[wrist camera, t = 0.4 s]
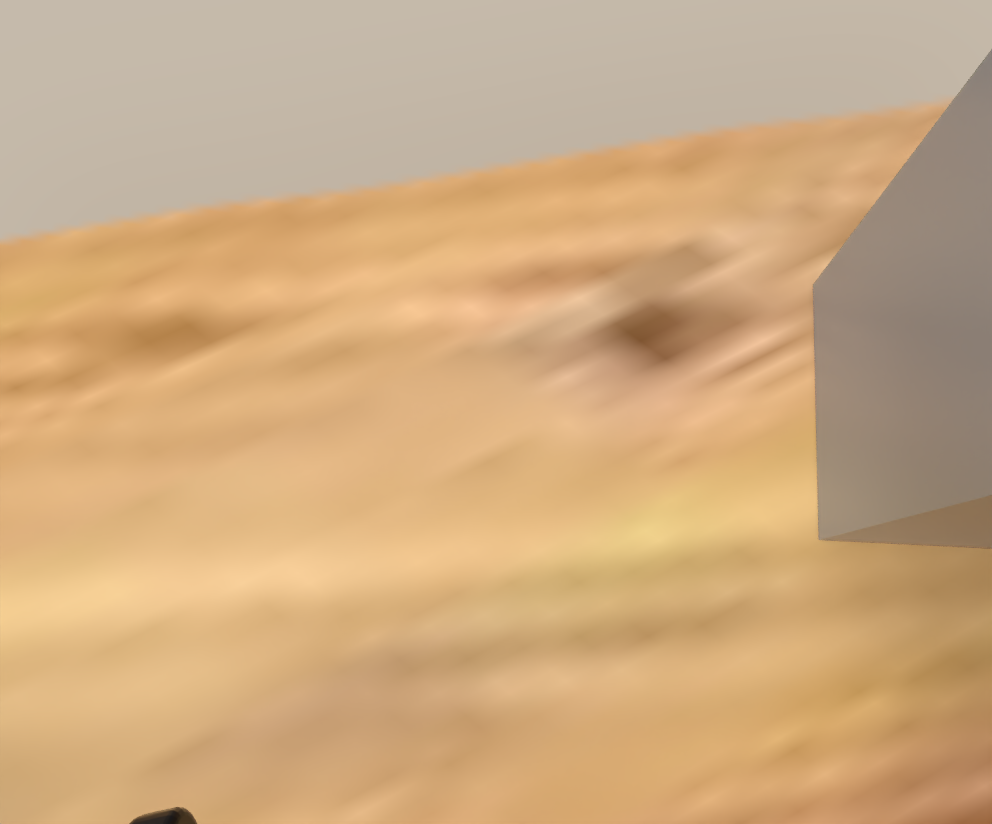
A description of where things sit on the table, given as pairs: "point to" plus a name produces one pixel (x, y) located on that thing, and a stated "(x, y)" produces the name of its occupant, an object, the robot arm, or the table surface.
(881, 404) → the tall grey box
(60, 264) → the table surface
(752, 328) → the table surface
